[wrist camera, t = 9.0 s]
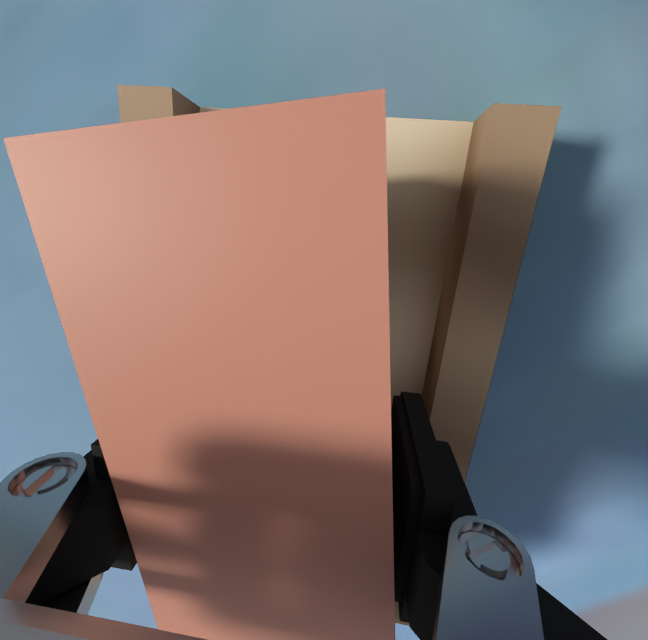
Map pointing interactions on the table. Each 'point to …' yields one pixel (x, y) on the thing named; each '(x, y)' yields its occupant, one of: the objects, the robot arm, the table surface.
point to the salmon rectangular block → (234, 354)
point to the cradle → (442, 246)
